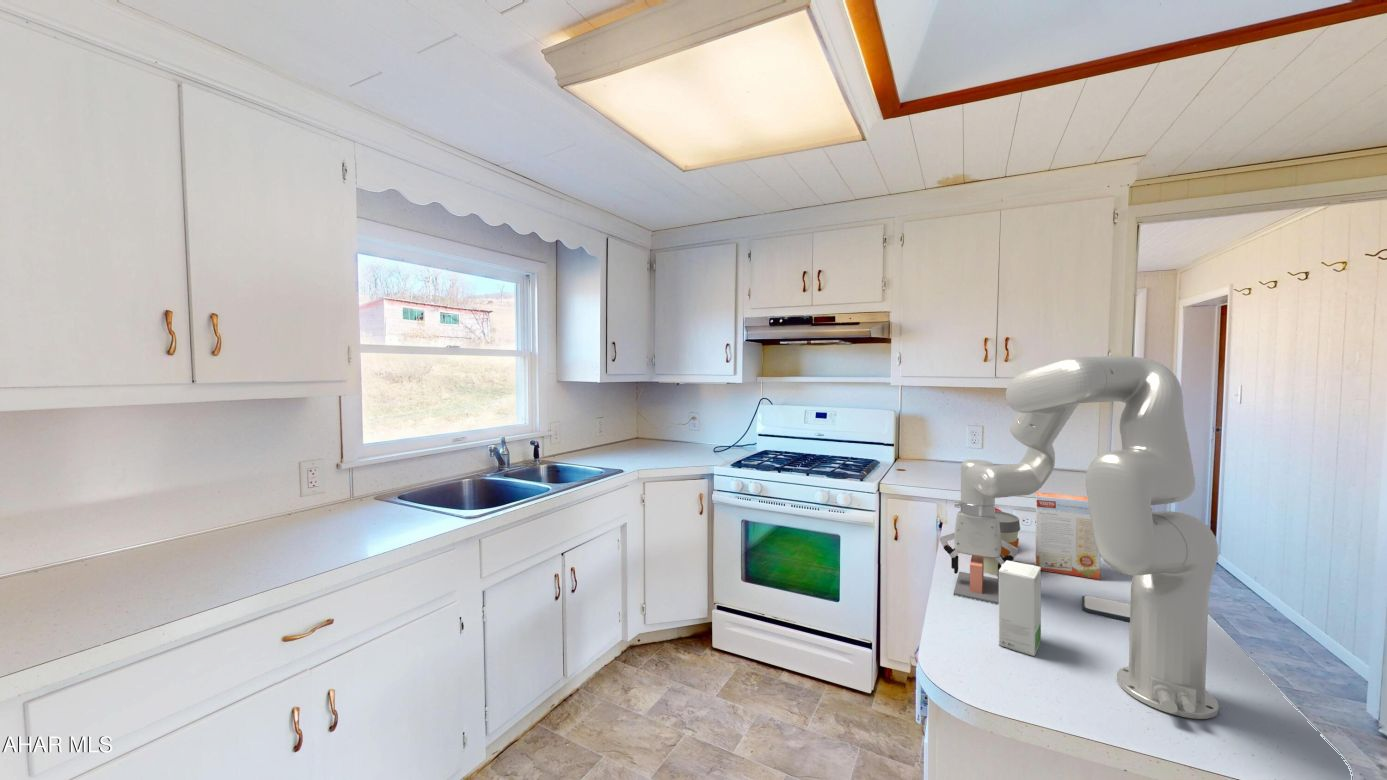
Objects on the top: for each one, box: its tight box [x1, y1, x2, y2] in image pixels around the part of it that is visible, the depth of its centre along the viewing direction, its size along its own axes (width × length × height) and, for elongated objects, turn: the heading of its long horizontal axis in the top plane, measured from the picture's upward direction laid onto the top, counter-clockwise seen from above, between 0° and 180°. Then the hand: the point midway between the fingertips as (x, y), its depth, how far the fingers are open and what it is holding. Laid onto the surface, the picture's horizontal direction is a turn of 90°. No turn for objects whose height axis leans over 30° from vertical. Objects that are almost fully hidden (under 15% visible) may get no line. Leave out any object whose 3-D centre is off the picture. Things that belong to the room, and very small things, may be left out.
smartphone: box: [1081, 595, 1130, 624], centre depth 112 cm, size 9×2×16 cm
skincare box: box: [998, 560, 1042, 657], centre depth 101 cm, size 8×7×16 cm
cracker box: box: [1035, 491, 1102, 580], centre depth 135 cm, size 14×6×21 cm, turn 58°
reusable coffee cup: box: [984, 510, 1021, 576], centre depth 138 cm, size 13×13×15 cm
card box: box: [969, 555, 985, 594], centre depth 126 cm, size 9×3×7 cm, turn 147°
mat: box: [953, 570, 999, 605], centre depth 125 cm, size 15×15×1 cm
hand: (977, 575), depth 126 cm, fingers open, 9 cm apart
